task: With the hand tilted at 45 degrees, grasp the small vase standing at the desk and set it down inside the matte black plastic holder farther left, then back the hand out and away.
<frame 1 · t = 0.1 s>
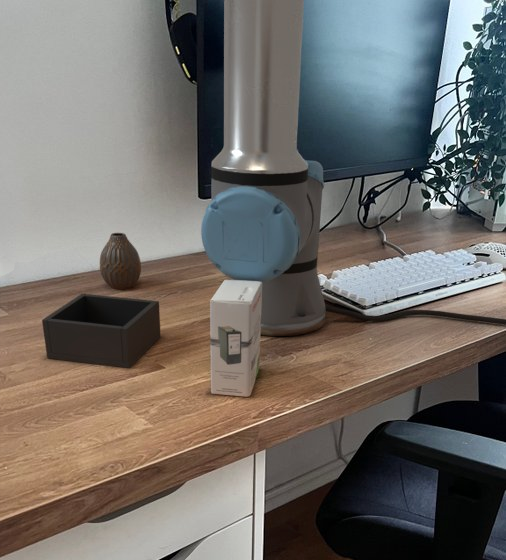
ink box: (236, 383, 86), on the table
holder: (106, 347, 94), on the table
vase: (122, 287, 119), on the table
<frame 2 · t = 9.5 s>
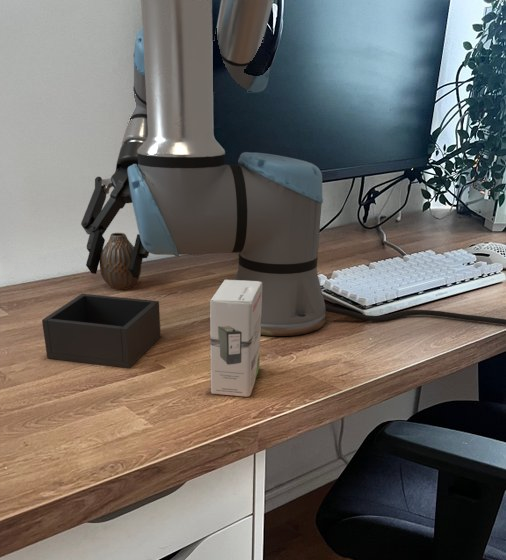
hand: (112, 271, 114), 3 cm above the table, tool tilted 45°, fingers closed on vase, 7 cm apart
vase: (122, 287, 119), on the table, touching gripper
everything else where it was.
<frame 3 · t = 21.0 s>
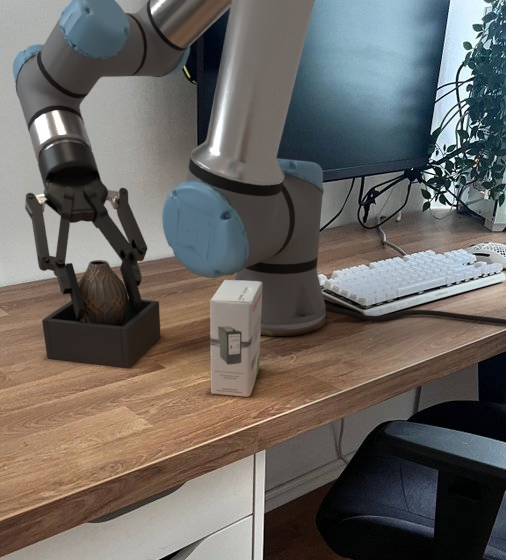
hand: (109, 310, 88), 6 cm above the table, tool tilted 45°, fingers closed on vase, 7 cm apart
vase: (104, 328, 93), point 3 cm above the table, touching gripper
everything else where it was.
when the fingers open (6 cm above the table, at t = 22.4 s): vase drops 2 cm, resting on holder.
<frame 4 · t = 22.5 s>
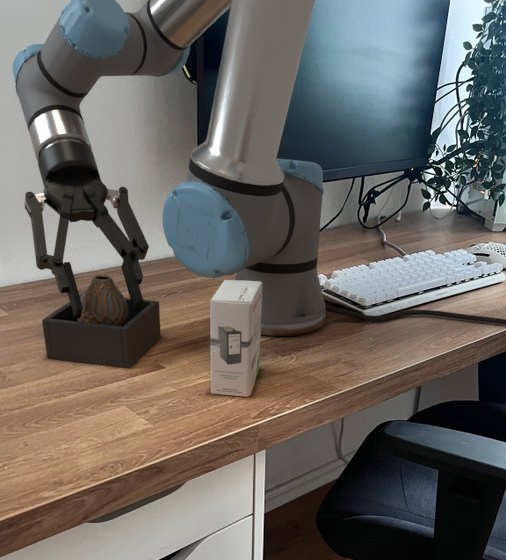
hand: (109, 309, 88), 6 cm above the table, tool tilted 45°, fingers open, 7 cm apart
vase: (104, 342, 94), point 1 cm above the table, touching holder
everything else where it was.
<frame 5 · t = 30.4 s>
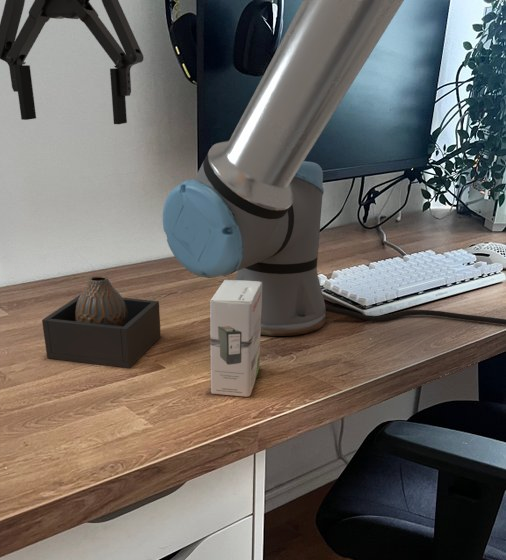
hand: (74, 121, 94), 27 cm above the table, tool pointing down, fingers open, 13 cm apart
nothing on the table moved.
at the end: vase inside the target area in the holder (0.1 cm from its centre), point 0.6 cm above the holder's base; vase tilted 0° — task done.
